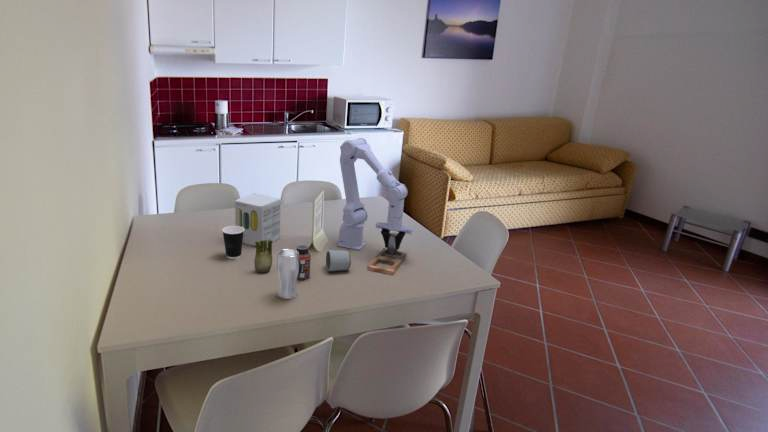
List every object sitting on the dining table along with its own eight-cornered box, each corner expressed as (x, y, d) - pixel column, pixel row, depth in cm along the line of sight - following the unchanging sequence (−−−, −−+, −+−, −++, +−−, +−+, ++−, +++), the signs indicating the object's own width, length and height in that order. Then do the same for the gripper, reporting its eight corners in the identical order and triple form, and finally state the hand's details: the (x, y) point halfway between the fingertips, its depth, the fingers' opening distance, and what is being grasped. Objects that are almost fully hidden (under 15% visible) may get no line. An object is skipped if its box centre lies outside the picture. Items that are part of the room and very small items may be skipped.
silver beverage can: (278, 289, 164) (278, 247, 159) (299, 290, 165) (300, 248, 160) (275, 299, 157) (275, 256, 152) (297, 300, 158) (298, 257, 153)
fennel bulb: (272, 268, 178) (272, 238, 175) (270, 274, 174) (270, 243, 170) (256, 267, 178) (256, 236, 174) (253, 273, 174) (253, 242, 170)
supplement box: (234, 241, 200) (233, 200, 194) (254, 231, 211) (254, 192, 206) (262, 248, 195) (262, 206, 190) (280, 238, 207) (281, 198, 201)
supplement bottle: (306, 281, 171) (307, 251, 167) (290, 279, 172) (290, 249, 168) (312, 274, 176) (313, 245, 173) (296, 272, 177) (297, 242, 174)
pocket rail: (367, 269, 184) (367, 266, 183) (383, 251, 202) (383, 247, 202) (392, 275, 181) (393, 271, 181) (406, 255, 199) (407, 252, 199)
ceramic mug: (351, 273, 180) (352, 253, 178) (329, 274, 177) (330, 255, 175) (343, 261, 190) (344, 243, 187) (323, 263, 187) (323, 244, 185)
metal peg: (385, 254, 194) (387, 235, 192) (388, 250, 198) (390, 232, 195) (395, 256, 193) (396, 237, 191) (397, 252, 197) (399, 234, 194)
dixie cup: (243, 251, 190) (243, 225, 187) (245, 260, 183) (245, 232, 180) (222, 253, 188) (221, 226, 184) (223, 261, 181) (222, 233, 177)
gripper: (415, 215, 192) (412, 247, 197) (380, 209, 196) (377, 241, 200) (411, 220, 186) (407, 254, 190) (374, 214, 190) (372, 247, 194)
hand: (392, 247), depth 195 cm, fingers closed on metal peg, 4 cm apart
